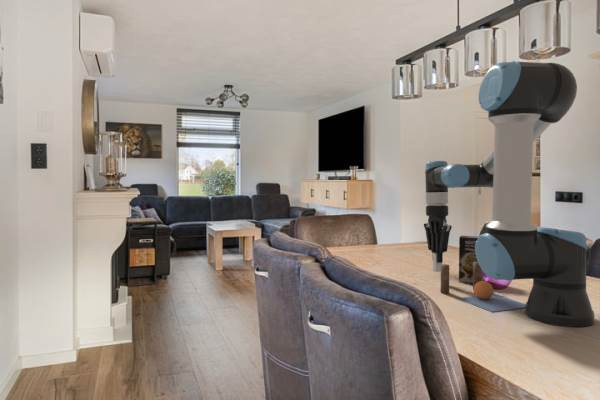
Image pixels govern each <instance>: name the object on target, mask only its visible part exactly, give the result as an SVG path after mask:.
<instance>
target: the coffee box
mask: <svg viewBox="0 0 600 400" xmlns="http://www.w3.org/2000/svg"><path fill="white" fill-rule="evenodd" d="M478 237H479V236H475V235H460V236H459V241H458V244H459V245H458V246H459V248H458V282H461V283H469V284H470V283H471V284H473V262H478V261H477V258H476V253H475V244H476V241H477V238H478ZM482 281H483V280H482Z"/></svg>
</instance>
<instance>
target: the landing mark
mask: <svg viewBox="0 0 600 400" xmlns="http://www.w3.org/2000/svg"><path fill="white" fill-rule="evenodd" d="M457 300H460V301H463V302H465V303H467V304H470V305H473V306H475V307H478V308H480V309H483V310H484V311H485V310H486V311H488V312H491V313H496V312H503V311H504V312H505V311H513V310H521V309H525V305H526V303H523V302H520V301H517V300H514V299H511V298H508V297H505V296H501V295H499V294H496V293H493V295H492V296H491V297H490V298H489V299H480V298H478V297H477V296H476V295H475V296H464V297H457Z"/></svg>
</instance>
